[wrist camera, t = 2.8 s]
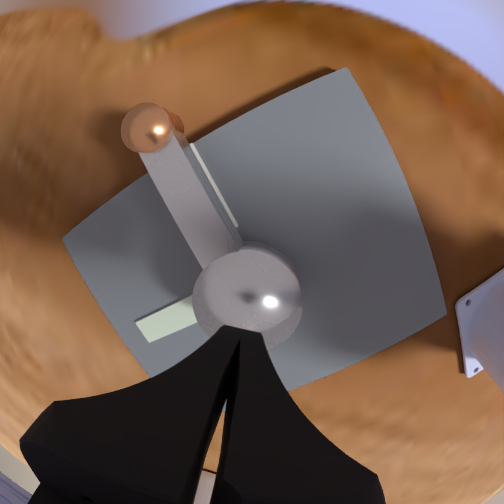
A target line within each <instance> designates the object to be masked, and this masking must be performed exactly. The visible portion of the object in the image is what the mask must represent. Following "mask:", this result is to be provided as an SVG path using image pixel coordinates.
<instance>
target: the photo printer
mask: <svg viewBox="0 0 504 504" xmlns="http://www.w3.org/2000/svg"><path fill="white" fill-rule="evenodd" d="M215 477H216V474H213V473H210V472H206V471H203V470H202V472H201V476H200V480H199V484H198V488H197V492H196V496H195V500H194V504H209V503H210V499H211V494H212V490H213V486H214V481H215Z"/></svg>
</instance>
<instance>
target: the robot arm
mask: <svg viewBox="0 0 504 504" xmlns="http://www.w3.org/2000/svg"><path fill="white" fill-rule="evenodd" d="M467 300H468V302H467V303H466V301H467ZM455 309H456V315H457V320H458V326H459V332H460V338H461V345H462V352H463V361H464V370H465V375H466V377H467V378H470V377H472V376H474V375H475V374H476V373H478V372H479V371H481V370H482V369H485V371H486V372H487V373H488V374H489V375H490V377H491V378H492V379H493V380H494V381H495V383H496V384H497V385H498V386H499V388H500V389H501V390H502V391H503V393H504V268H503V269H502V270H500V271H499V272H498V273H496V274H495V275H494V276H492V277H491V278H489V279H488V280H487V281H485V282H484V283H482V284H481V285H479V286H478V287H476V288H475V289H473V290H472V291H471V292H469V293H468V294H466V295H464V296H463V297H461V298H460V299H459V300H458V301H457V302H456V305H455ZM226 399H227V400H226ZM225 402H226V408H225V417H224V426H223V435H222V444H221V452H220V458H219V464H218V468H217V473H216V477H215V481H214V486H213V490H212V494H211V499H210V503H209V504H386V502H385V497H384V493H383V490H382V487H381V484H380V482H379V479H378V476H377V474H375V473H374V472H372V471H370V470H369V469H367V468H366V467H364V466H363V465H361V464H360V463H358V462H357V461H355V460H354V459H352V458H351V457H349V456H348V455H346V454H345V453H344V452H343V451H341V450H340V449H339V448H338V447H337V446H335V445H334V444H333V443H332V442H330V441H329V440H328V439H327V438H326V437H325V436H324V435H323V434H322V433H321V432H320V431H319V430H318V429H317V428H316V427H315V426H314V425H313V424H312V423H311V422H310V421H309V420H308V419H307V417H306V416H305V415H304V414H303V413H302V411H301V410H300V409H299V407H298V406H297V405H296V403H295V402H294V401H293V399H292V398H291V396H290V395H289V393H288V391H287V390H286V388H285V386H284V385H283V383H282V381H281V379H280V378H279V376H278V374H277V372H276V370H275V367H274V365H273V363H272V361H271V359H270V356H269V354H268V351H267V348H266V345H265V342H264V338H263V335H262V334H261V333H260V332H255V331H251V330H246V329H241V328H237V327H233V326H228V325H223V326H221V327H220V328H219V329H218V330H217V332H216V333H215V334H214V335H213V336H212V337H210V338H209V339H208V340H207V341H206V342H205V343H204V344H203V345H201V346H200V347H199V348H198V349H197V350H195V351H194V352H193V353H191V354H190V355H189V356H187V357H186V358H184V359H183V360H181V361H180V362H178V363H177V364H175V365H174V366H172V367H170V368H169V369H167V370H165V371H163V372H162V373H160V374H158V375H156V376H154V377H152V378H149V379H147V380H145V381H142V382H140V383H138V384H135V385H132V386H130V387H127V388H124V389H120V390H117V391H114V392H110V393H106V394H101V395H97V396H92V397H86V398H78V399H71V400H62V401H54V402H53V403H52V404H51V405H50V406H48V407H47V408H46V409H45V410H44V411H43V412H42V413H41V414H40V416H39V417H38V418H37V419H36V420H35V421H34V423H33V424H32V425H31V426H30V427H29V429H28V430H27V431H26V432H25V434H24V435H23V436H22V437H21V438H20V440H19V441H20V449H21V452H22V454H23V456H24V458H25V460H26V461H27V463H28V465H29V466H30V468H31V469H32V471H33V472H34V474H35V475H36V477H37V478H38V480H39V481H40V485H39V486H38V488H37V489H36V491H35V492H34V494H33V495H32V494H30V493H29V492H27V491H26V490H24V489H23V488H22V487H20V486H19V485H17V484H16V483H15V482H13V481H12V480H11V479H9V478H8V477H7V476H5V475H4V474H3V473H1V472H0V504H194V500H195V496H196V492H197V488H198V484H199V480H200V476H201V472H202V468H203V465H204V461H205V457H206V454H207V451H208V448H209V445H210V442H211V440H212V437H213V434H214V432H215V429H216V426H217V424H218V421H219V418H220V416H221V413H222V410H223V407H224V405H225Z"/></svg>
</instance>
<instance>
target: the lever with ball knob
mask: <svg viewBox="0 0 504 504" xmlns="http://www.w3.org/2000/svg"><path fill="white" fill-rule="evenodd" d="M121 137H122V140H123V142H124V144H125V145H126V147H128V148H129V149H130V150H132V151H134V152H138V153H139V155H140V157H141V159H142V161H143V163H144V165H145V167H146V168H147V170H148V172H149V174H150V176H151V178H152V180H153V182H154V183H155V185H156V187H157V189H158V191H159V193H160V195H161V196H162V198H163V200H164V202H165V204H166V205H167V207H168V209H169V211H170V213H171V214H172V216H173V218H174V220H175V222H176V223H177V225H178V227H179V229H180V230H181V232H182V234H183V236H184V238H185V239H186V241H187V243H188V244H189V246H190V248H191V250H192V251H193V253H194V255H195V257H196V258H197V260H198V262H199V263H200V265H201V267H202V268H203V271H202V272H201V274H200V275H199V277H198V279H197V281H196V283H195V286H194V289H193V294H192V305H193V311H194V315H195V317H196V320H197V322H198V324H199V325H200V327H201V328H202V330H203V331H204V332H205V333H206V334H207V335H208V336H209V337H212V336H213V335H214V334H215V333H216V332H217V330H218V329H219V328H220V327H221V326H223V325H228V326H233V327H237V328H241V329H246V330H251V331H255V332H260V333H261V334H262V335H263V338H264V342H265V345H266V348H267V350H269V349H272V348H274V347H276V346H278V345H280V344H281V343H283V342H284V341H285V340H287V339H288V338H289V337H290V336H291V335H292V334H293V332H294V331H295V329H296V328H297V326H298V324H299V322H300V319H301V316H302V311H303V298H302V292H301V286H300V281H299V277H298V273H297V271H296V269H295V267H294V265H293V264H292V262H291V261H290V260H289V259H288V257H287V256H286V255H284V254H283V253H282V252H281V251H279V250H278V249H276V248H274V247H273V246H270V245H268V244H265V243H261V242H254V241H244V242H243V240H242V238H241V236H240V235H239V233H238V231H237V229H236V227H235V226H234V224H233V222H232V220H231V218H230V217H229V215H228V213H227V211H226V209H225V208H224V206H223V204H222V202H221V200H220V199H219V197H218V195H217V193H216V191H215V190H214V188H213V186H212V184H211V182H210V181H209V179H208V177H207V175H206V173H205V172H204V170H203V168H202V166H201V164H200V163H199V161H198V159H197V157H196V155H195V154H194V152H193V150H192V148H191V146H190V145H189V143H188V141H187V139H186V137H185V136H184V126H183V123H182V121H181V119H180V118H179V117H178V116H177V115H175V114H174V113H172V112H170V111H168V110H166V109H164V108H162V107H160V106H158V105H156V104H153V103H148V102H147V103H140V104H138V105H136V106H134V107H133V108H131V109H130V110H129V111H128V112H127V114H126V115H125V117H124V119H123V121H122V124H121Z"/></svg>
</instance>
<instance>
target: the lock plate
mask: <svg viewBox="0 0 504 504" xmlns="http://www.w3.org/2000/svg"><path fill="white" fill-rule="evenodd" d="M189 145H190V146H191V148H192V150H193V152H194V154H195V155H196V157H197V159H198V161H199V163H200V164H201V166H202V168H203V170H204V172H205V173H206V175H207V177H208V179H209V181H210V182H211V184H212V186H213V188H214V190H215V191H216V193H217V195H218V197H219V199H220V200H221V202H222V204H223V206H224V208H225V209H226V211H227V213H228V215H229V217H230V218H231V220H232V222H233V224H234V226H235V227H236V229H237V231H238V233H239V235H240V236H241V238H242V240H243V242H244V241H254V242H261V243H265V244H268V245H270V246H273V247H274V248H276V249H278V250H279V251H281V252H282V253H283V254H284V255H286V256H287V257H288V259H289V260H290V261H291V262H292V264H293V265H294V267H295V269H296V271H297V273H298V277H299V281H300V286H301V292H302V298H303V311H302V316H301V319H300V322H299V324H298V326H297V328H296V329H295V331H294V332H293V334H292V335H291V336H290V337H289V338H288V339H287V340H285V341H284V342H283V343H281V344H280V345H278V346H276V347H274V348H272V349H269V350H267V351H268V354H269V356H270V359H271V361H272V363H273V365H274V367H275V370H276V372H277V374H278V376H279V378H280V379H281V381H282V383H283V385H284V386H285V388H286V390H287V391H289V390H292V389H295V388H298V387H300V386H303V385H305V384H308V383H310V382H313V381H316V380H318V379H320V378H323V377H325V376H328V375H330V374H332V373H335V372H337V371H339V370H342V369H344V368H346V367H348V366H351V365H353V364H355V363H357V362H359V361H362V360H364V359H366V358H368V357H370V356H372V355H374V354H376V353H378V352H380V351H382V350H384V349H386V348H388V347H390V346H392V345H394V344H396V343H398V342H400V341H402V340H403V339H405V338H407V337H409V336H411V335H413V334H414V333H416V332H418V331H420V330H422V329H423V328H425V327H427V326H429V325H430V324H432V323H434V322H435V321H437V320H439V319H440V318H442V317H444V316H445V315H447V309H446V305H445V300H444V296H443V292H442V288H441V284H440V280H439V276H438V273H437V269H436V265H435V262H434V259H433V255H432V252H431V249H430V245H429V242H428V239H427V236H426V233H425V230H424V227H423V224H422V221H421V219H420V216H419V213H418V210H417V208H416V205H415V202H414V200H413V197H412V195H411V192H410V190H409V187H408V185H407V182H406V180H405V177H404V175H403V173H402V170H401V168H400V166H399V164H398V161H397V159H396V157H395V155H394V153H393V150H392V148H391V146H390V144H389V142H388V140H387V138H386V136H385V134H384V132H383V130H382V128H381V126H380V124H379V122H378V120H377V118H376V116H375V114H374V113H373V111H372V109H371V107H370V105H369V103H368V102H367V100H366V98H365V96H364V95H363V93H362V91H361V89H360V88H359V86H358V84H357V83H356V81H355V79H354V78H353V76H352V74H351V73H350V71H349V70H348V68H347V67H345V68H342V69H340V70H337V71H335V72H332V73H330V74H328V75H325V76H323V77H320V78H318V79H316V80H313V81H311V82H309V83H307V84H304V85H302V86H300V87H298V88H295V89H293V90H291V91H289V92H287V93H285V94H283V95H281V96H278V97H276V98H274V99H272V100H270V101H268V102H266V103H264V104H262V105H260V106H258V107H256V108H255V109H253V110H251V111H249V112H247V113H245V114H243V115H241V116H239V117H238V118H236V119H234V120H232V121H230V122H228V123H227V124H225V125H223V126H221V127H219V128H218V129H216V130H214V131H213V132H211V133H209V134H207V135H206V136H204V137H202V138H201V139H199V140H197V141H196V142H194V143H191V144H189ZM61 239H62V241H63V243H64V245H65V247H66V249H67V250H68V252H69V254H70V256H71V258H72V260H73V262H74V263H75V265H76V267H77V269H78V271H79V272H80V274H81V276H82V278H83V279H84V281H85V283H86V285H87V286H88V288H89V290H90V291H91V293H92V295H93V296H94V298H95V299H96V301H97V303H98V304H99V306H100V307H101V309H102V311H103V312H104V314H105V315H106V317H107V318H108V320H109V321H110V323H111V324H112V326H113V327H114V329H115V330H116V332H117V333H118V335H119V336H120V337H121V339H122V340H123V342H124V343H125V344H126V346H127V347H128V349H129V350H130V351H131V353H132V354H133V356H134V357H135V358H136V360H137V361H138V362H139V364H140V365H141V366H142V367H143V369H144V370H145V371H146V373H147V374H148V375H149V376H150V378H152V377H154V376H156V375H158V374H160V373H162V372H163V371H165V370H167V369H169V368H170V367H172V366H174V365H175V364H177V363H178V362H180V361H181V360H183V359H184V358H186V357H187V356H189V355H190V354H191V353H193V352H194V351H195V350H197V349H198V348H199V347H200V346H201V345H203V344H204V343H205V342H206V341H207V340H208V339H209V338H210V337H209V336H208V335H207V334H206V333H205V332H204V331H203V330H202V328H201V327H200V325H199V324H198V322H197V320H196V317H195V315H194V311H193V305H192V294H193V289H194V286H195V283H196V281H197V279H198V277H199V275H200V274H201V272H202V271H203V268H202V267H201V265H200V263H199V262H198V260H197V258H196V257H195V255H194V253H193V251H192V250H191V248H190V246H189V244H188V243H187V241H186V239H185V238H184V236H183V234H182V232H181V230H180V229H179V227H178V225H177V223H176V222H175V220H174V218H173V216H172V214H171V213H170V211H169V209H168V207H167V205H166V204H165V202H164V200H163V198H162V196H161V195H160V193H159V191H158V189H157V187H156V185H155V183H154V182H153V180H152V178H151V176H150V174H149V172H147V173H146V174H145V175H143V176H142V177H140V178H139V179H137V180H136V181H134V182H133V183H132V184H130V185H129V186H127V187H126V188H125V189H123V190H122V191H121V192H119V193H118V194H117V195H115V196H114V197H112V198H111V199H110V200H108V201H107V202H106V203H105V204H103V205H102V206H101V207H99V208H98V209H97V210H96V211H94V212H93V213H92V214H90V215H89V216H88V217H87V218H85V219H84V220H83V221H82V222H81V223H79V224H78V225H77V226H76V227H74V228H73V229H72V230H71V231H70V232H68V233H67V234H66V235H65V236H64V237H63V238H61ZM226 400H227V399H226ZM225 408H226V402H225V405H224V407H223V410H222V412H224V411H225Z"/></svg>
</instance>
